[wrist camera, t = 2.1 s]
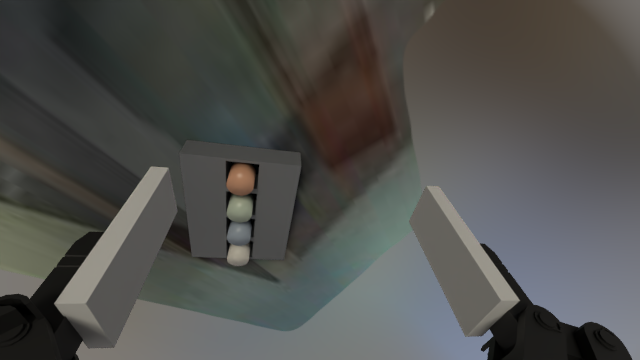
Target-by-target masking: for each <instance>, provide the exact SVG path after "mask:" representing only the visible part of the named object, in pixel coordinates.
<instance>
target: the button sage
mask: <svg viewBox="0 0 640 360" xmlns="http://www.w3.org/2000/svg"><path fill="white" fill-rule="evenodd" d="M253 203H254V198H253V196H252V195H251V194H250V193H249V194H247V195H243V196H240V195H235V194H232V195H231V197H230V200H229V205H228V209H227V216H228V218H229V219H230V220H232V221H234V222H239V223H242V222H246V221H248V220H249V219H250V218H251V216H252V210H253Z"/></svg>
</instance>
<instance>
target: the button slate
mask: <svg viewBox="0 0 640 360" xmlns="http://www.w3.org/2000/svg"><path fill="white" fill-rule="evenodd" d="M251 229H252V221H251V220H250V219H249V220H248V221H246V222H242V223H239V222H234V221H232V220H231V221H230V225H229V230H228V234H227V240H228V242H229V243H231V244H233V245H236V246H242V245H246V244H247V243H249V241H250V237H251Z"/></svg>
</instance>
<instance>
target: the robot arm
mask: <svg viewBox="0 0 640 360" xmlns="http://www.w3.org/2000/svg"><path fill="white" fill-rule="evenodd" d="M176 213H177V206H176V201H175V196H174V191H173V186H172V181H171V176H170V172H169V168H164V167H150V169H149V170H148V172H147V173H146V174H145V176H144V177H143V179H142V180H141V181H140V183H139V184H138V186H137V187H136V189H135V190H134V191H133V193H132V194H131V196H130V197H129V198H128V200H127V201H126V203H125V204H124V205H123V207H122V208H121V210H120V211H119V213H118V214H117V215H116V217H115V218H114V220H113V221H112V222H111V224H110V225H109V227H108V228H107V229H106V231H105V232H88V233H87V234H86V235H84V236H83V237H81V238H80V239H79V240H77V241H76V242H75V243H74V244H73V245H72V246H71V248H70V249H69V250H68V252H67V253H66V254H65V257H63V258H62V259H61V260H60V262H59V263H58V264H57V267H56V268H54V269H53V270H52V272H51V273H50V274H49V276H48V277H47V278H46V279H45V281H44V282H43V283H42V284H41V286H40V287H39V288H38V289H37V291H36V292H35V293H34V294H33V296H32V297H31V298H30V299H29V298H28V297H27V296H24V295H21V294H13V295H5V296H2V297H0V360H79V358H78V356H77V355H76V351H77V349H78V348H79V346H80V344H81V342H82V341H83V342H84V343H85V344H86V346H87V347H88V348H114V347H115V345H116V343H117V340H118V338H119V336H120V334H121V331H122V330H123V327H124V325H125V323H126V321H127V319H128V317H129V314H130V312H131V310H132V308H133V306H134V304H135V301H136V299H137V297H138V295H139V293H140V291H141V289H142V287H143V284H144V282H145V280H146V278H147V276H148V274H149V271H150V269H151V267H152V265H153V263H154V261H155V258H156V256H157V254H158V252H159V250H160V248H161V246H162V243H163V241H164V239H165V237H166V235H167V233H168V230H169V228H170V226H171V224H172V222H173V220H174V218H175V215H176ZM409 222H410V224H411V227H412V229H413V231H414V233H415V235H416V237H417V238H418V241H419V243H420V245H421V247H422V249H423V251H424V253H425V255H426V257H427V259H428V261H429V263H430V265H431V267H432V269H433V271H434V273H435V275H436V277H437V279H438V282H439V284H440V286H441V288H442V290H443V292H444V294H445V296H446V298H447V300H448V302H449V304H450V306H451V308H452V310H453V312H454V314H455V316H456V318H457V320H458V322H459V324H460V326H461V328H462V330H463V333H464V335H465V337H467V336H468V337H469V336H482V335H484V334H485V333H486V332H487V331H488V330H489V329H490V330H491V332H492V334H493V337H492V338H491V339H490V340H489V341H488V342H487V343H486V344H484V345H483V346H482V348H481V351H483V352H484V351H485V350H486V349H487V348H488V347H489V352H488V359H487V360H632V358H631V356H630V354H629V352H628V351H627V349H626V347H625V346H624V344H623V343H622V341H620V339H619V338H618V337H617V336H616V335H615V334H614V333H612V332H611V331H610V330H608V329H607V328H605V327H603V326H602V325H600V324H598V323H593V322H588V323H585V324H584V325H582V326H581V327H579V328H578V327H575V326H572V325H568V324H565V323H562V322H560V321H559V320H558V319H557V318H556V317H555V316H554V315H553V314H552V313H551V312H549V311H548V310H546V309H545V308H543V307H540V306H538V305H533V303H532V302H531V301H530V300H529V298H528V297H527V296H526V294H525V293H524V292H523V290H522V289H521V287H520V286H519V285H518V284H517V282H516V281H515V279H514V278H513V277H512V275H511V274H510V273H508V270H507V269H506V267H505V266H504V265H503V264H502V262H501V261H500V259H499V258H498V256H497V255H496V254H495V252H493V251H492V250H491V249H490V248H489V247H487V246H486V245H485V244H479V242H478V241H477V240H476V238H475V237H474V235H473V234H472V233H471V231H470V230H469V228H468V227H467V225H466V224H465V223H464V221H463V220H462V218H461V217H460V216H459V214H458V213H457V211H456V210H455V209H454V207H453V206H452V204H451V203H450V201H449V200H448V199H447V197H446V196H445V194H444V193H443V192H442V190H441V189H440V187H437V186H426V187H425V189H424V191H423V194H422V196H421V198H420V200H419V202H418V204H417V206H416V208H415V210H414V212H413V214H412V216H411V218H410V220H409Z"/></svg>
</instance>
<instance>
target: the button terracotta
mask: <svg viewBox="0 0 640 360" xmlns="http://www.w3.org/2000/svg"><path fill="white" fill-rule="evenodd" d="M255 174H256V170H255V168H254V167H253V165H251V164H250V163H241V162H236V163H234V164H233V165H232V166H231V168H230V172H229V176H228V179H227V183H226V186H227V188H228V190H229V191H230V192H231V193H233V194H235V195H240V196H243V195H247V194H249V193H251V192H252V190H253V188H254V181H255Z"/></svg>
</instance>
